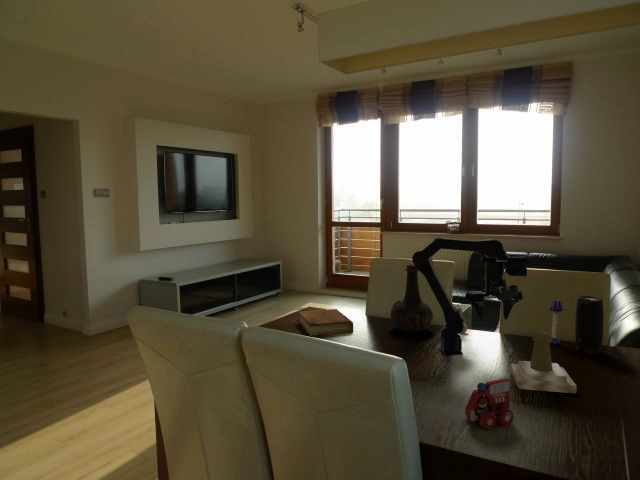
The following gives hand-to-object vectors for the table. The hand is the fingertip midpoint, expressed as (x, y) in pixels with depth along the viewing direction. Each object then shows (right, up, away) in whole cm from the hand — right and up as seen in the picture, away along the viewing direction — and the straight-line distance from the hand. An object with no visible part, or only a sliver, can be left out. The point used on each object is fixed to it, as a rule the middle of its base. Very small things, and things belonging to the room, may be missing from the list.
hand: (493, 320), depth 158 cm
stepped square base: (+6, -15, -21) cm, 26 cm away
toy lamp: (+29, -12, +15) cm, 35 cm away
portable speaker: (+36, -12, +5) cm, 38 cm away
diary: (-58, -11, +42) cm, 73 cm away
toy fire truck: (-19, -17, -46) cm, 52 cm away
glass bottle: (-21, -11, +36) cm, 43 cm away
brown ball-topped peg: (+6, -11, -21) cm, 25 cm away
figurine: (-2, -11, +31) cm, 33 cm away
